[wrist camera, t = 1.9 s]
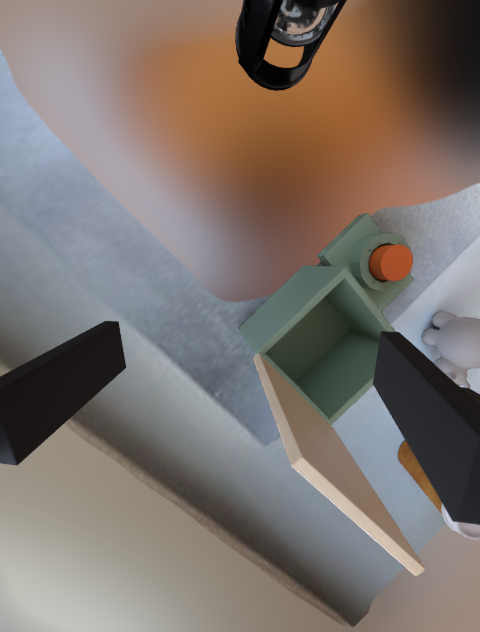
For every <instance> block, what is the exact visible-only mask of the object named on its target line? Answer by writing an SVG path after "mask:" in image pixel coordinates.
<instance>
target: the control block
mask: <svg viewBox="0 0 480 632" xmlns="http://www.w3.org/2000/svg"><path fill="white" fill-rule="evenodd" d="M386 245H404V246H406V247H407V248H408V249H409V250H410V252H411V249H410V248H409V246H408V245H407V243H406V242H405V240H404V239H403V238H402V237H400V236H397V235H395V234H392V233H384V234H382V232H381V231H380V230H379V228H378V227H377V225H376V224H375V222H374V221H373V220H372V218H371V217H370V215H369V214H368V213H365V214H362V215H359V216H358V217H357V218H356V219H355V220H353V222H351V224H349V225H348V226H347V227H346V228H345V229H344V230H343V231H342V232H341V233H340V234H339V235H338V236H337V237H336V238H335V239H334V240H333V241H332V242H330V243H329V244H328V245H327V246H326V247H325V248H324V249H323V250H322V251H321V252H320V253H319V254H318V255H317V256H318V258H319V259H320V260H321V261H322V263H323V264H324V265H325V266H334V267H346V268H347V269H348V270H349V271H350V273H351V274H352V275H353V277H354V278H355V279H356V281H357V282H358V283H359V284H360V286H361V287H362V288H363V290H364V291H365V292H366V293H367V295H368V296H369V297H370V299H371V300H372V301H373V303H374V304H375V305H376V306H377V308H378V309H379V310H380V312H381V311H382V310H383V309H384V308H385V307H386V306H387V305H388V304H389V303H390V302H391V301H392V300H393V299H394V298H395V297H396V296H398V295H399V294H400V293H401V292H402V291H403V290H404V289H405V288H406V287H407V286H408V285H409V284H410V283H411V282H412V281H413V280H414V278H413V277H412V276H411V274H410V273H408V275H407V276H406V277H404V278H403V279H401V280H398V281H388V280H380V279H377V278H375V277H374V276H373V275H372V274H371V272H370V269H369V260H370V257H371V255H372V253H373V252H374V251H375V250H376V249H377V248H379V247H381V246H386Z"/></svg>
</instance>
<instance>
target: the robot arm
mask: <svg viewBox="0 0 480 632" xmlns="http://www.w3.org/2000/svg"><path fill="white" fill-rule="evenodd" d="M125 368H126V364H125V358H124V352H123V346H122V340H121V334H120V328H119V322H117V321H104V322H103V323H101V324H99V325H97V326H95V327H93V328H91V329H89V330H87V331H86V332H84V333H82V334H80V335H78V336H76V337H74V338H72V339H70V340H69V341H67V342H65V343H63V344H61V345H59V346H57V347H55V348H53V349H52V350H50V351H48V352H46V353H44V354H42V355H40V356H38V357H36V358H35V359H33V360H31V361H29V362H27V363H25V364H23V365H21V366H19V367H18V368H16V369H14V370H12V371H10V372H8V373H6V374H4V375H3V376H1V377H0V463H2V464H11V465H18V464H19V463H20V462H22V461H23V460H24V459H25V458H26V457H27V456H28V455H29V454H31V453H32V452H33V451H34V450H35V449H36V448H37V447H38V446H39V445H41V444H42V443H43V442H44V441H45V440H46V439H47V438H48V437H49V436H51V435H52V434H53V433H54V432H55V431H56V430H57V429H58V428H59V427H60V426H62V425H63V424H64V423H65V422H66V421H67V420H68V419H69V418H71V417H72V416H73V415H74V414H75V413H76V412H77V411H78V410H80V409H81V408H82V407H83V406H84V405H85V404H86V403H87V402H88V401H90V400H91V399H92V398H93V397H94V396H95V395H96V394H97V393H98V392H100V391H101V390H102V389H103V388H104V387H105V386H106V385H107V384H108V383H110V382H111V381H112V380H113V379H114V378H115V377H116V376H117V375H118V374H120V373H121V372H122V371H123V370H124V369H125ZM373 385H374V386H375V388H376V390H377V392H378V393H379V395H380V397H381V399H382V400H383V402H384V404H385V405H386V407H387V409H388V411H389V412H390V414H391V416H392V418H393V419H394V421H395V423H396V424H397V426H398V428H399V430H400V431H401V433H402V435H403V437H404V438H405V440H406V442H407V443H408V445H409V447H410V449H411V450H412V452H413V454H414V456H415V457H416V459H417V461H418V462H419V464H420V466H421V468H422V469H423V471H424V473H425V475H426V476H427V478H428V480H429V481H430V483H431V485H432V487H433V488H434V490H435V492H436V494H437V495H438V497H439V499H440V500H441V502H442V504H443V506H444V507H445V509H446V511H447V513H448V514H449V516H450V518H451V519H452V521H453V522H460V523H468V524H476V525H480V394H478V393H476V392H475V391H473V390H471V389H469V388H462V387H459V386H458V385H457V384H456V383H455V382H454V381H453V380H452V379H451V378H449V377H448V376H447V375H446V374H445V373H444V372H443V371H442V370H441V369H439V368H438V367H437V366H436V365H435V364H434V363H433V362H432V361H431V360H429V359H428V358H427V357H426V356H425V355H424V354H423V353H422V352H421V351H419V350H418V349H417V348H416V347H415V346H414V345H413V344H412V343H411V342H409V341H408V340H407V339H406V338H405V337H404V336H403V335H402V334H401V333H399V332H387V331H381V334H380V340H379V347H378V353H377V359H376V366H375V372H374V378H373Z"/></svg>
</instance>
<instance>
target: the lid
mask: <svg viewBox="0 0 480 632" xmlns="http://www.w3.org/2000/svg"><path fill="white" fill-rule="evenodd" d="M253 360H254V362H255V365H256V368H257V371H258V374H259V376H260V379H261V382H262V385H263V388H264V391H265V393H266V396H267V399H268V402H269V405H270V407H271V410H272V413H273V416H274V419H275V422H276V424H277V427H278V430H279V433H280V436H281V438H282V441H283V444H284V447H285V450H286V453H287V455H288V458H289V461H290V464H291V466H292V467H293V468H294V469H295V470H296V471H297V472H299V473H300V474H301V475H302V476H303V477H304V478H305V479H307V480H308V481H309V482H310V483H311V484H312V485H313V486H314V487H316V488H317V489H318V490H319V491H320V492H321V493H322V494H323V495H325V496H326V497H327V498H328V499H329V500H330V501H331V502H333V503H334V504H335V505H336V506H337V507H338V508H339V509H340V510H342V511H343V512H344V513H345V514H346V515H347V516H348V517H349V518H351V519H352V520H353V521H354V522H355V523H356V524H357V525H358V526H360V527H361V528H362V529H363V530H364V531H365V532H366V533H368V534H369V535H370V536H371V537H372V538H373V539H374V540H375V541H377V542H378V543H379V544H380V545H381V546H382V547H383V548H384V549H386V550H387V551H388V552H389V553H390V554H391V555H392V556H394V557H395V558H396V559H397V560H398V561H399V562H400V563H401V564H403V565H404V566H405V567H406V568H407V569H408V570H409V571H411V572H412V573H413V574H414V575H415V576H418V575H419V574H421V573H422V572H423V571H425V570H426V569H425V567H424V566H423V564H422V563H421V561H420V560H419V558H418V556H417V555H416V553H415V552H414V550H413V549H412V547H411V546H410V544H409V543H408V541H407V540H406V538H405V537H404V535H403V534H402V532H401V531H400V529H399V528H398V526H397V524H396V523H395V521H394V520H393V518H392V517H391V515H390V514H389V512H388V511H387V509H386V508H385V506H384V505H383V503H382V502H381V500H380V499H379V497H378V496H377V494H376V492H375V491H374V489H373V488H372V486H371V485H370V483H369V482H368V480H367V479H366V477H365V476H364V474H363V473H362V471H361V470H360V468H359V467H358V465H357V463H356V462H355V460H354V459H353V457H352V456H351V454H350V453H349V451H348V450H347V448H346V447H345V445H344V444H343V442H342V441H341V439H340V438H339V436H338V435H337V433H336V431H335V430H334V428H333V427H332V426H331V425H330V424H329V423H328V422H327V421H326V420H325V419H324V418H323V417H322V416H321V415H320V414H319V413H318V412H317V411H316V410H315V409H314V408H313V407H312V406H311V405H310V404H309V403H308V402H307V401H306V400H305V399H304V398H303V397H302V396H301V395H300V394H299V393H298V392H297V391H296V390H295V389H294V388H293V387H292V386H291V385H290V384H289V383H288V382H287V381H286V380H285V379H284V378H283V377H282V376H281V375H280V374H279V373H278V372H277V371H276V370H275V369H274V368H273V367H272V366H271V365H270V364H269V363H268V362H267V361H266V360H265V359H264V358H263V357H262V356H261V355H260V354H259V353H258V354H257V355H256V356H255V357H254V358H253Z"/></svg>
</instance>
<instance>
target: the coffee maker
mask: <svg viewBox="0 0 480 632" xmlns="http://www.w3.org/2000/svg"><path fill="white" fill-rule="evenodd" d="M238 329H239V330H240V332H241V333H242V335H243V336H244V338H245V339H246V341H247V342H248V344H249V346H250V347H251V349H252V350H253V352H254V353H255V355H257V354H258V353H259V354H260V355H261V356H262V357H263V358H264V359H265V360H266V361H267V362H268V363H269V364H270V365H271V366H272V367H273V368H274V369H275V370H276V371H277V372H278V373H279V374H280V375H281V376H282V377H283V378H284V379H285V380H286V381H287V382H288V383H289V384H290V385H291V386H292V387H293V388H294V389H295V390H296V391H297V392H298V393H299V394H300V395H301V396H302V397H303V398H304V399H305V400H306V401H307V402H308V403H309V404H310V405H311V406H312V407H313V408H314V409H315V410H316V411H317V412H318V413H319V414H320V415H321V416H322V417H323V418H324V419H325V420H326V421H327V422H328V423H329V424H330V425H332V424H333V423H334V422H335V421H336V420H337V419H338V418H339V417H340V416H341V415H342V414H343V413H344V412H345V411H347V410H348V409H349V408H350V407H351V406H352V405H353V404H354V403H355V402H356V401H357V400H358V399H359V398H360V397H361V396H363V395H364V394H365V393H366V392H367V391H368V390H369V389H370V388H371V387H372V386H373V378H374V372H375V366H376V359H377V353H378V347H379V340H380V334H381V331H387V332H396V331H395V330H394V328H393V327H392V326H391V325H390V323H389V322H388V321H387V319H386V318H385V317H384V315H383V314H382V313H381V312H380V310H379V309H378V308H377V306H376V305H375V304H374V303H373V301H372V300H371V299H370V297H369V296H368V295H367V293H366V292H365V291H364V290H363V288H362V287H361V286H360V284H359V283H358V282H357V281H356V279H355V278H354V277H353V275H352V274H351V273H350V271H349V270H348V269H347V268H346V267H334V266H308V265H303V266H302V267H301V268H300V269H299V270H298V271H297V272H296V273H295V274H294V275H293V276H292V277H291V278H290V279H289V280H288V281H287V282H286V283H285V284H284V285H283V286H282V287H280V288H279V289H278V290H277V291H276V292H275V293H274V294H273V295H272V296H271V297H270V298H269V299H268V300H267V301H266V302H265V303H264V304H263V305H262V306H261V307H260V308H259V309H257V310H256V311H255V312H254V313H253V314H252V315H251V316H250V317H249V318H248V319H247V320H246V321H245V322H244V323H243V324H242V325H241V326H240V327H239V328H238Z"/></svg>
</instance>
